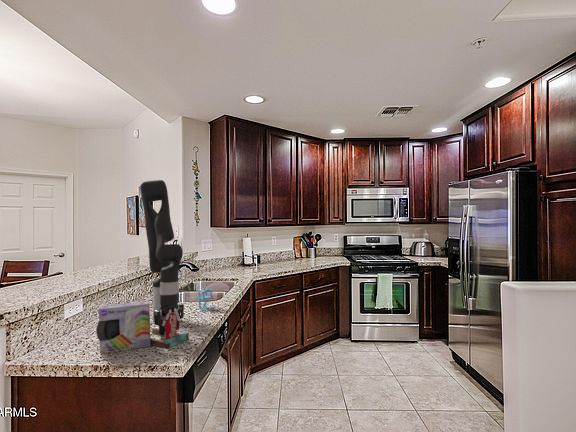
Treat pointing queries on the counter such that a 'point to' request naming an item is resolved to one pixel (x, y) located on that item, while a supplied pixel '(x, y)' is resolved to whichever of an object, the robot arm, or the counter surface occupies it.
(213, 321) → the counter surface
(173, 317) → the beverage can
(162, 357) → the counter surface
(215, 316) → the counter surface
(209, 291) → the light blue translucent piece
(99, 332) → the cake pan box
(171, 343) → the guide channel
